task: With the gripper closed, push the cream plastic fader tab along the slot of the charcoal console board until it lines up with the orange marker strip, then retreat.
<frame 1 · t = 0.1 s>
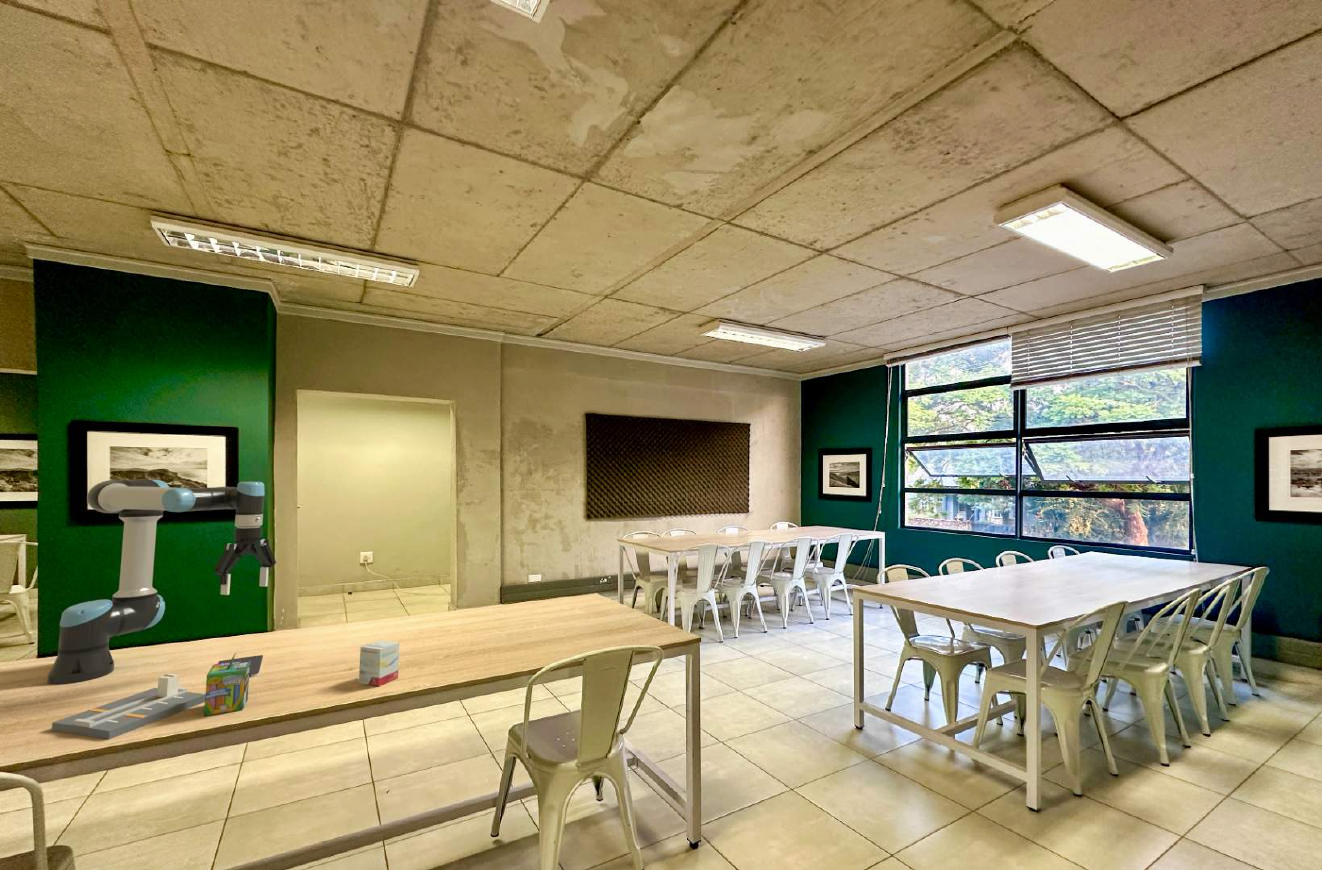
hand: (244, 590, 186), 28 cm above the table, fingers open, 13 cm apart
chalk box: (226, 708, 158), on the table
console: (133, 714, 153), on the table
notebook: (238, 672, 188), on the table
ink box: (378, 681, 180), on the table
fader tab: (168, 685, 162), point 5 cm above the table, slide at 0.0 cm
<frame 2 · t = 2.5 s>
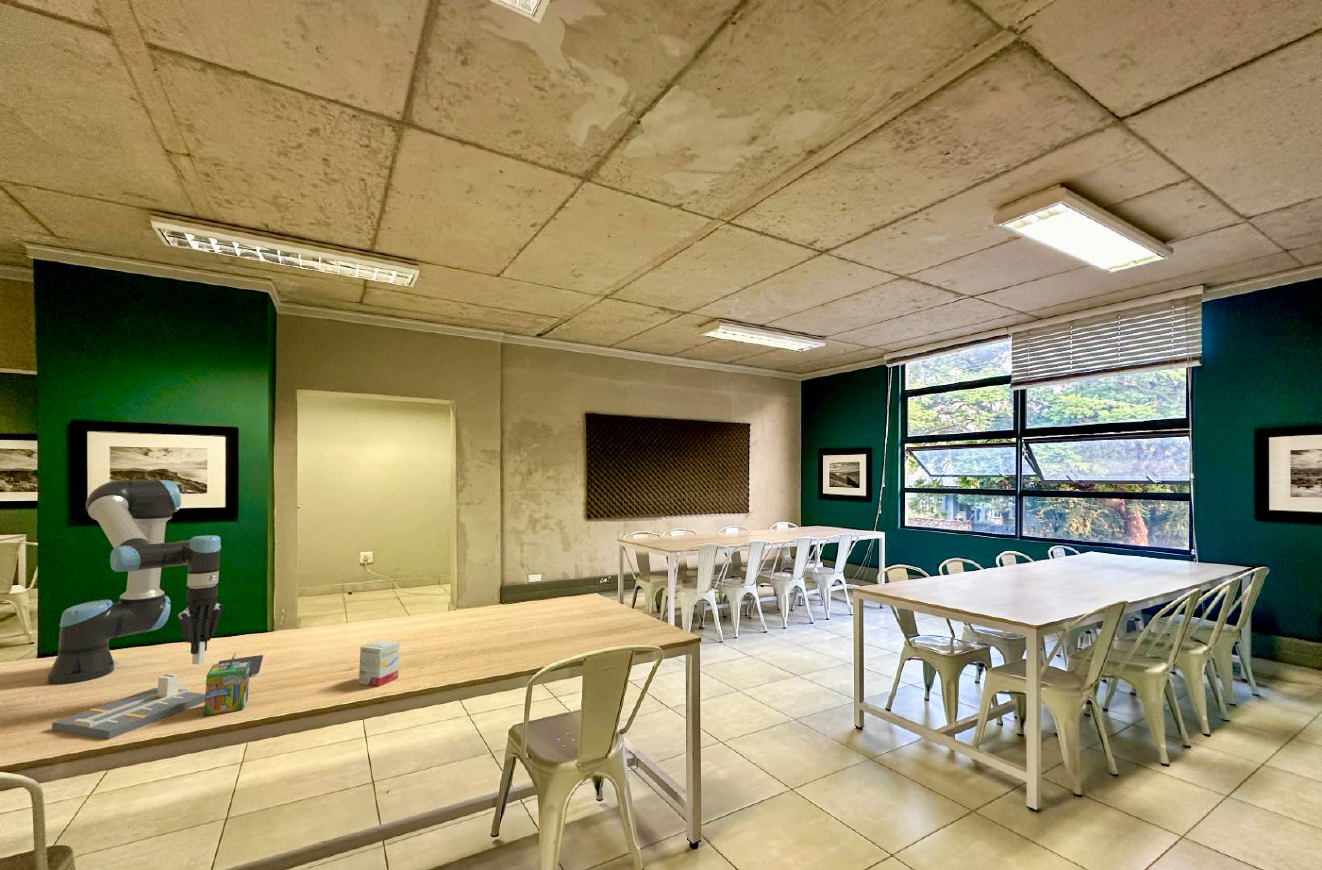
hand: (198, 663, 170), 9 cm above the table, fingers closed
nothing on the table moved.
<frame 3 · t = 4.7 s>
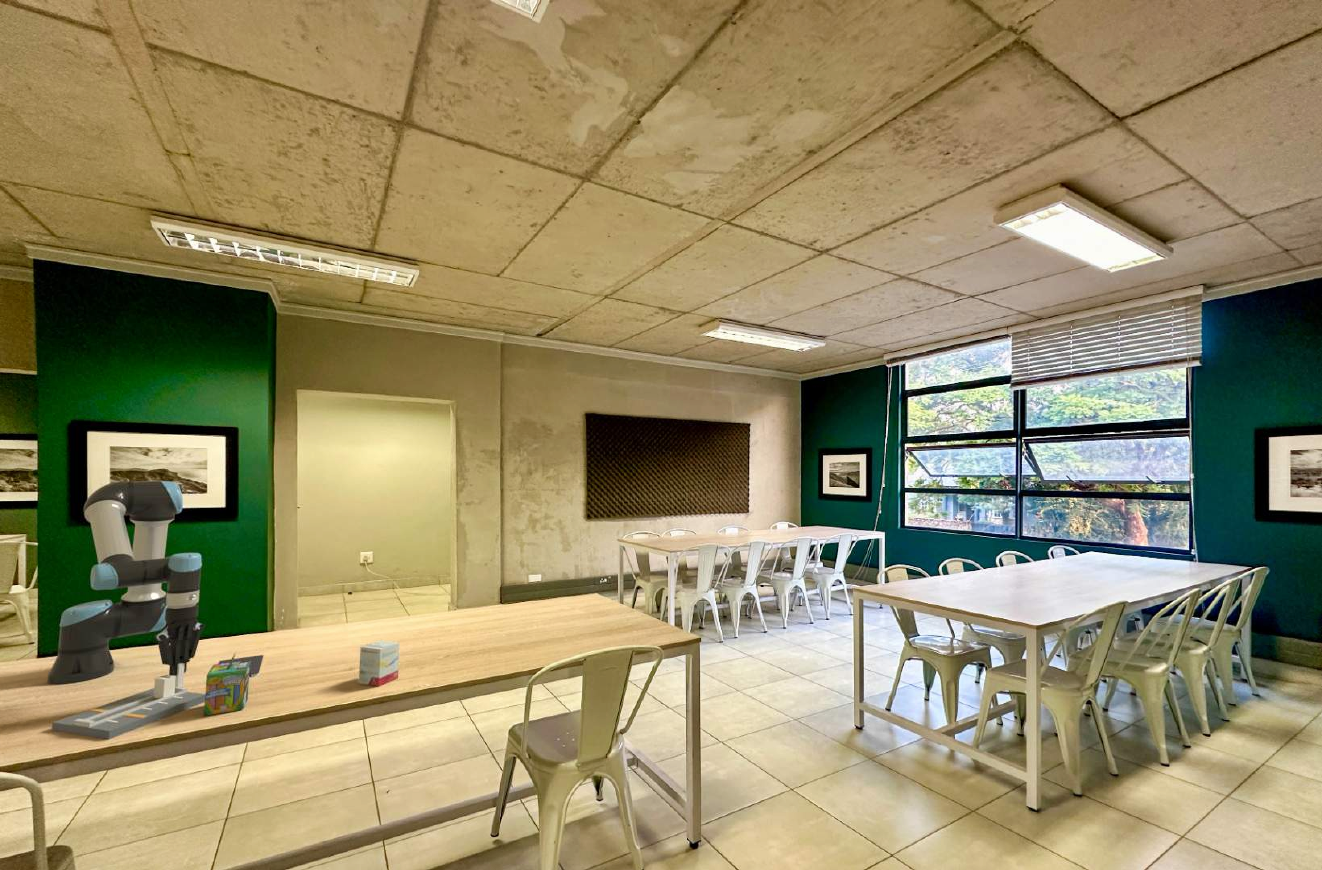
hand: (176, 685, 164), 4 cm above the table, fingers closed
fader tab: (164, 686, 161), point 5 cm above the table, slide at 1.0 cm, touching gripper
everything else where it was.
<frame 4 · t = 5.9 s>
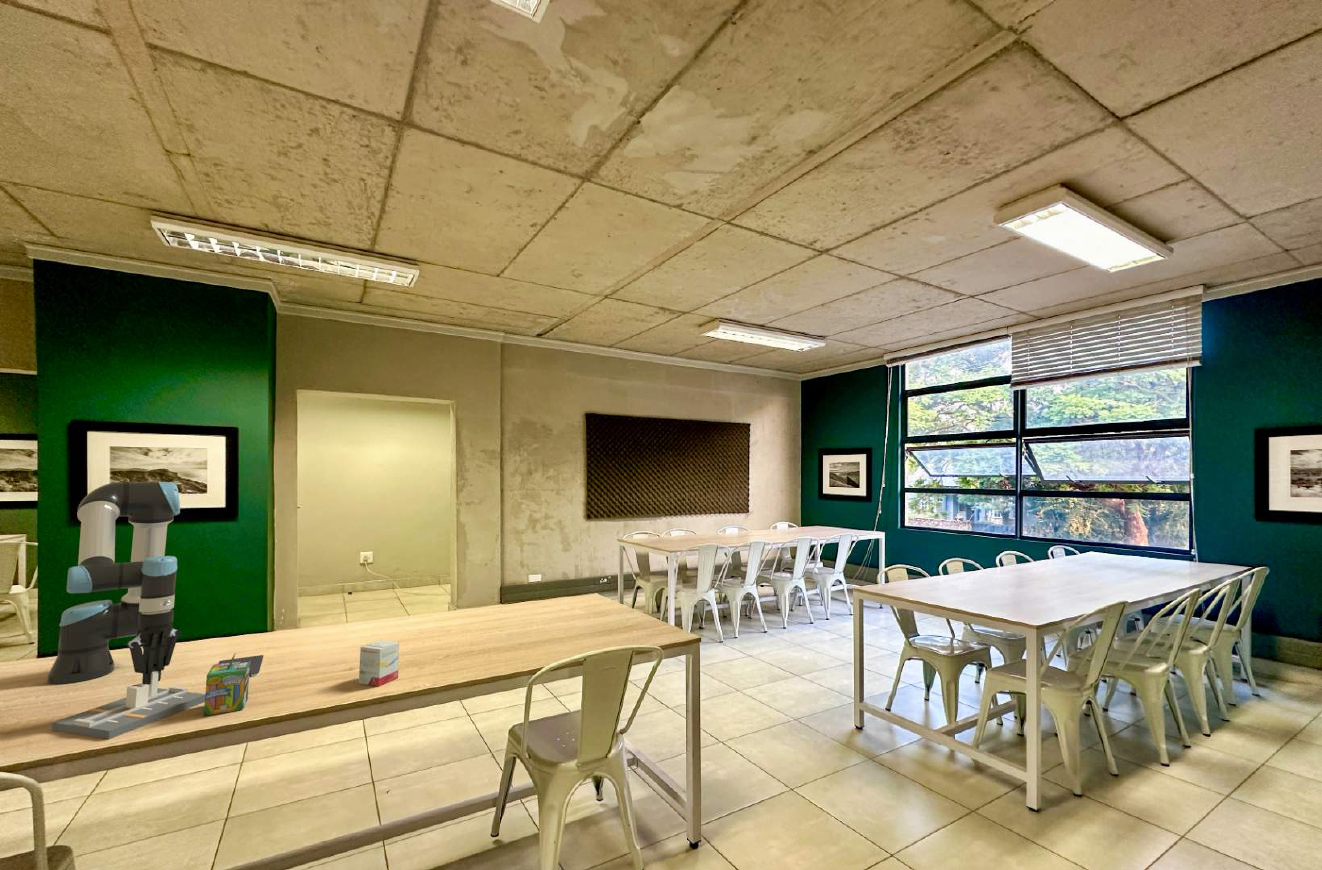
hand: (150, 695, 157), 4 cm above the table, fingers closed
fader tab: (137, 696, 154), point 5 cm above the table, slide at 7.9 cm, touching gripper
everything else where it was.
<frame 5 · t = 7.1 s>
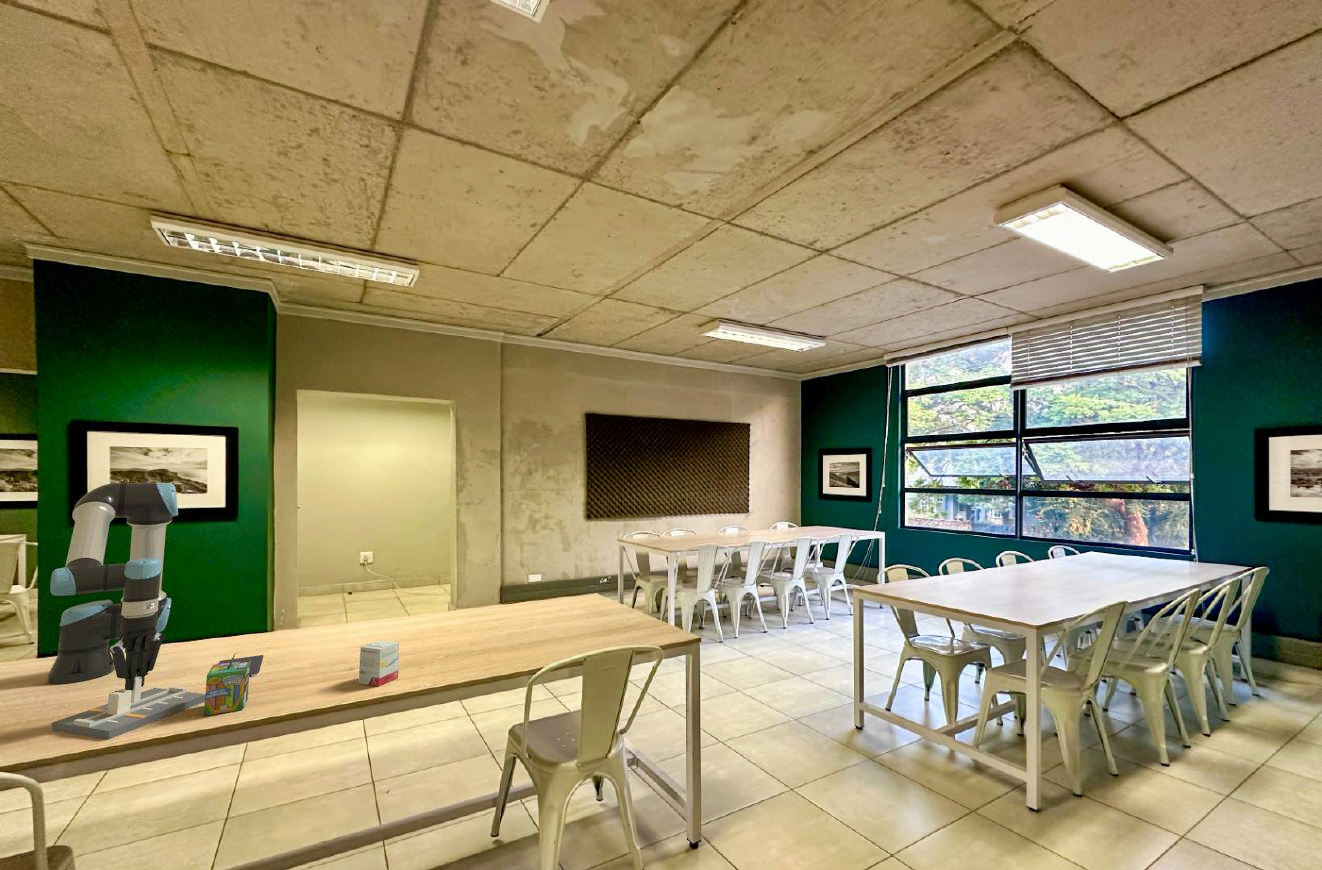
hand: (133, 700, 153), 4 cm above the table, fingers closed
fader tab: (119, 702, 150), point 5 cm above the table, slide at 12.2 cm, touching gripper
everything else where it was.
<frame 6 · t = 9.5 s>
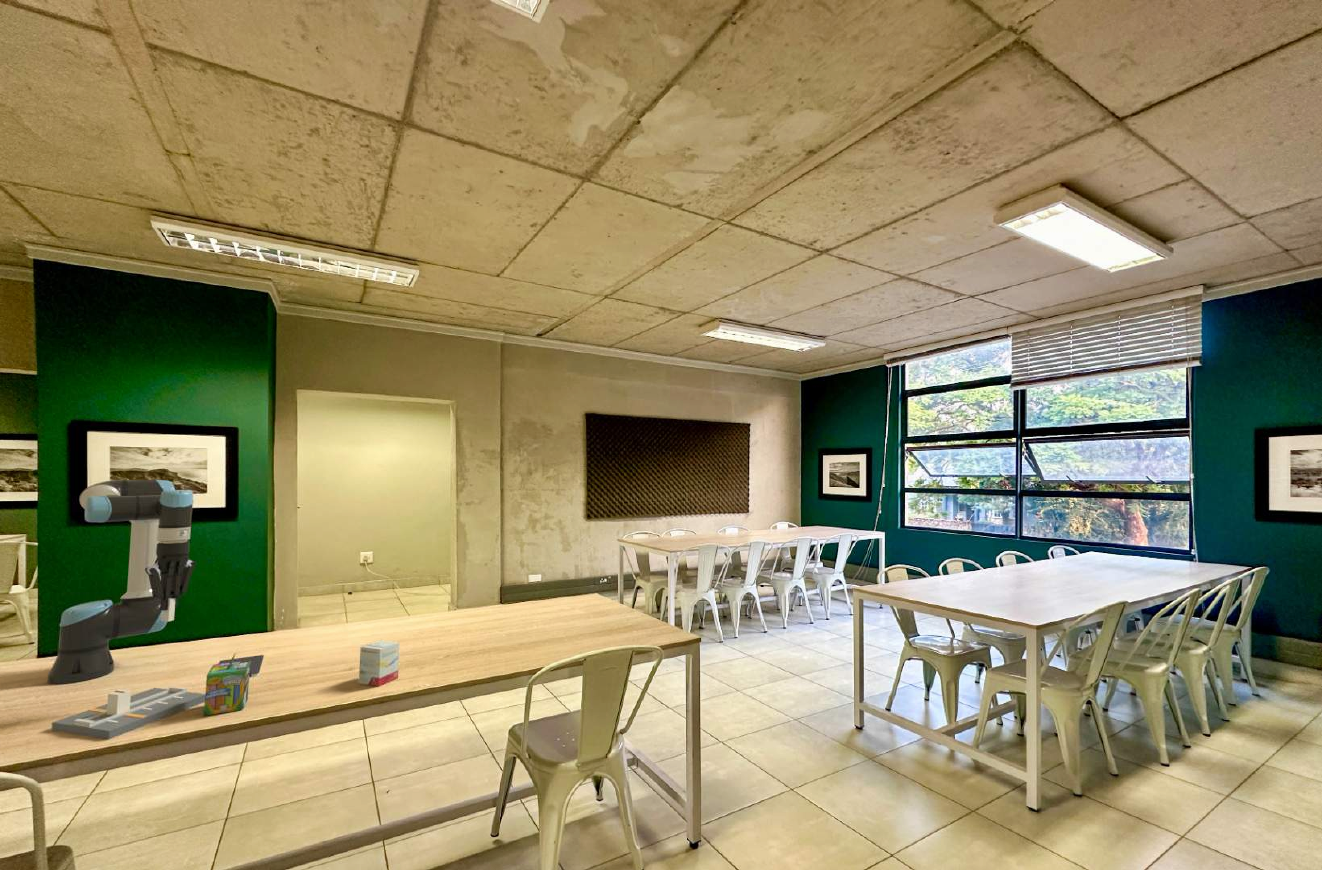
hand: (167, 620, 165), 23 cm above the table, fingers closed
fader tab: (118, 702, 150), point 5 cm above the table, slide at 12.3 cm
everything else where it was.
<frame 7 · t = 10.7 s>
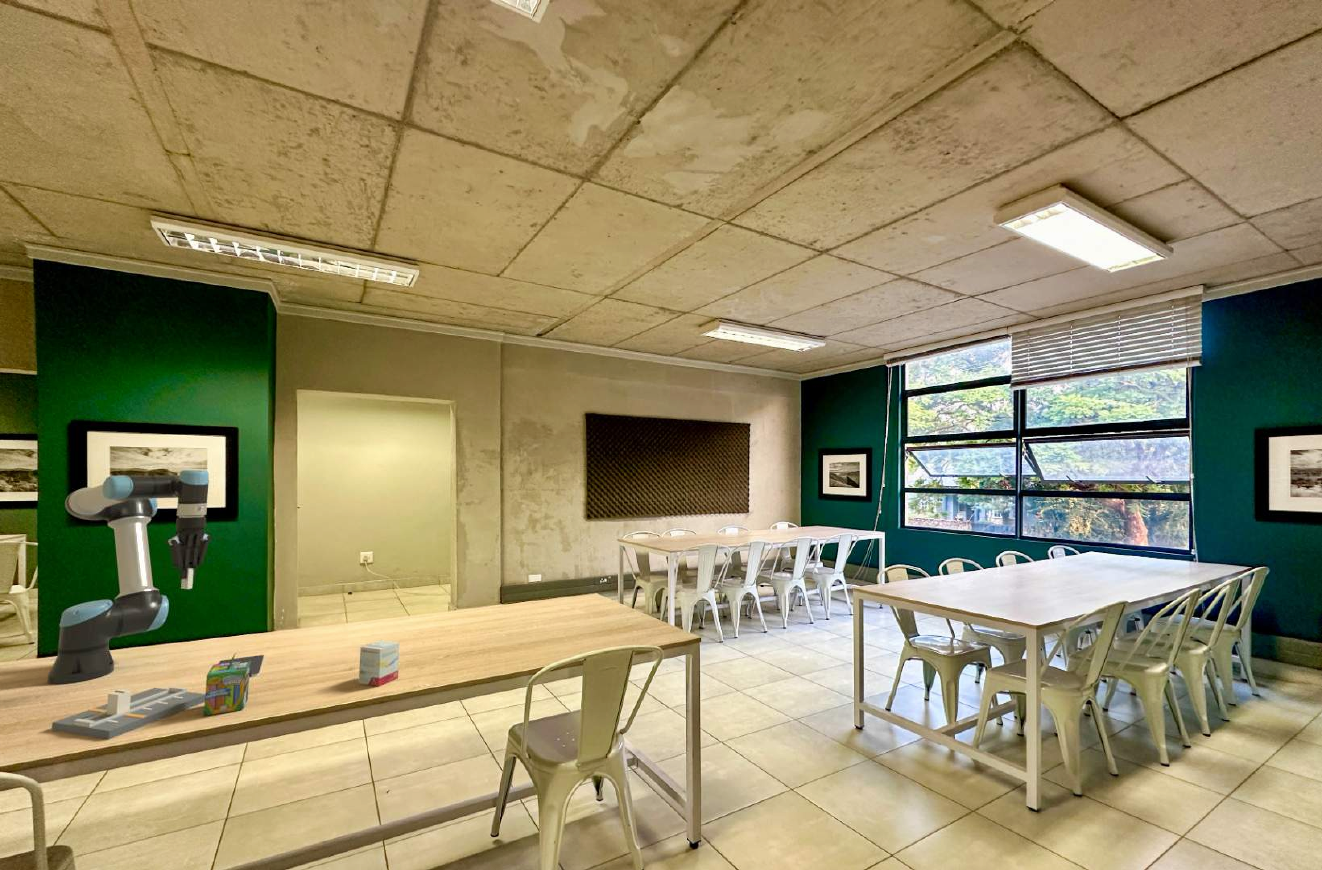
hand: (186, 588, 181), 29 cm above the table, fingers closed
nothing on the table moved.
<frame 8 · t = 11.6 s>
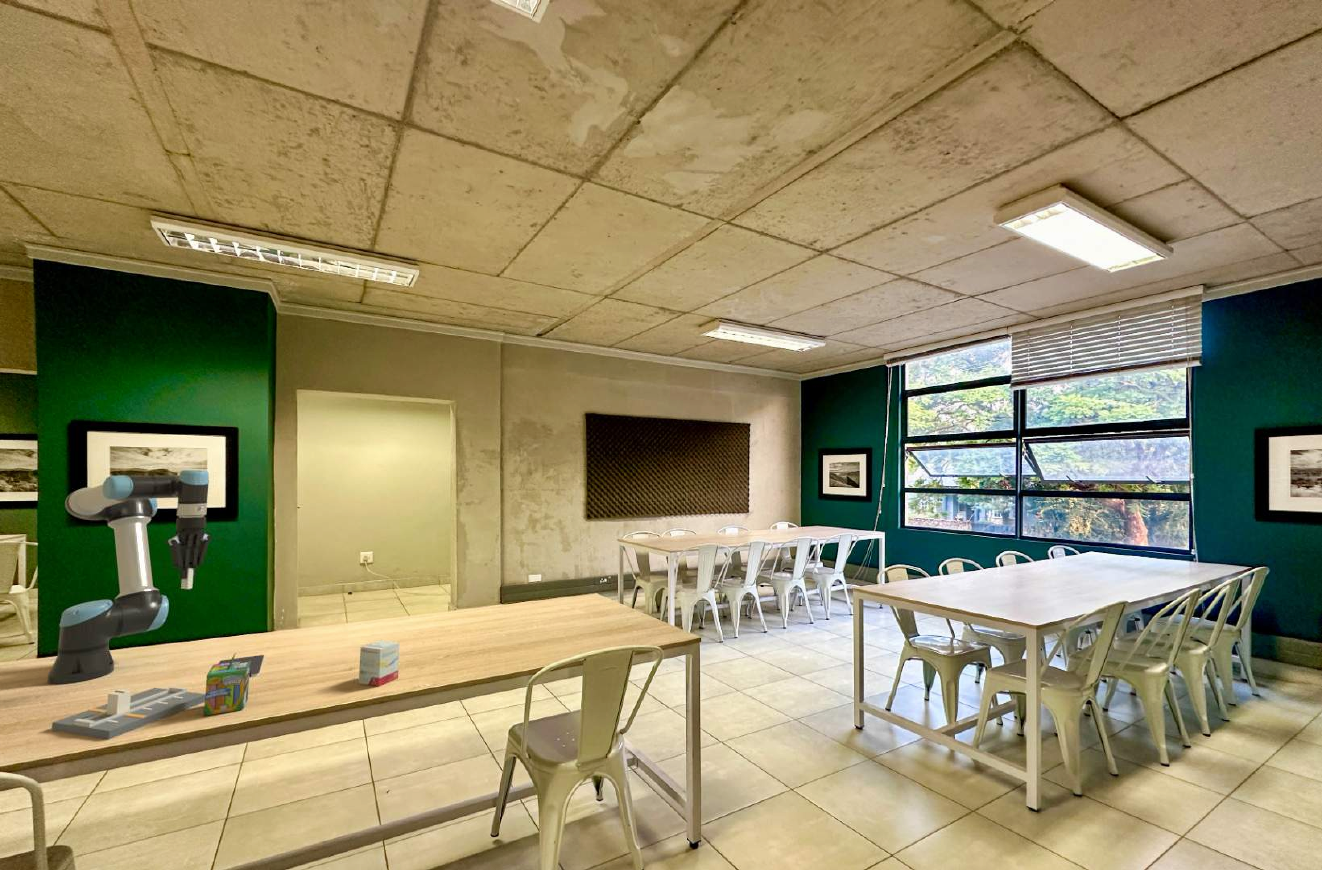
hand: (186, 588, 181), 29 cm above the table, fingers closed
nothing on the table moved.
at the end: fader tab slide at 12.3 cm; fader tab touching nothing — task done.
